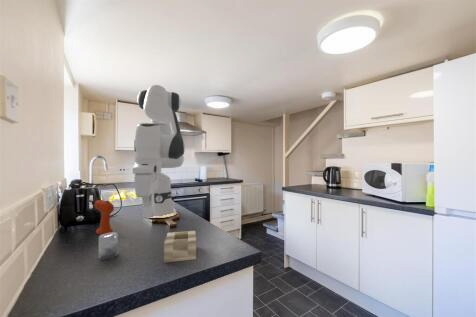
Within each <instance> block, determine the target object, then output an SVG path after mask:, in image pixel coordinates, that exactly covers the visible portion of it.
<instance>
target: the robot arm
mask: <svg viewBox="0 0 476 317" xmlns="http://www.w3.org/2000/svg"><path fill="white" fill-rule="evenodd" d="M136 100H137V104H138V107H139V108H140V109H141V110H143V112H144V114H145V115H146V117H148V118H149V119H150V123H149V122H148V123H146V122H145V123H144V122H141V123H138V124H137V125H136V129H135V135H134V141H133V142H134V145H133V150H134V152H135V156H134V166H132V174H133V175H134V178H133V179H134V190H135V196H136V198H142V197H143V202H144V207H149V205H150V199H149V197H150V194H151V193H152V192H153V191H154V215H153V216H163V215H167V214H171V213H174V212H175V213H176V214H177V215H178V212H177V211H176V208H175V206H174V205H175V203H174V202H175V201H174V200H173V199H172V196H173V195H172V194H173V193H172V191H171V189H172V188H171V187H172V186H171V185H172V183H171V182H172V180H171V177H170V176H168V174H165V173H163V172H162V169H175V168H179V167H181V166H182V165H183V163H184V160H185V158H184V154H185V151H186V144H185V141H184V138H183V136H182V132H181V128H180V122H179V119H178V117H177V116H178V115H177V113H176V112H178V111H179V110H180V108H181V106H182V101H181V98H180V95H179V94H178V93H177V92H173V91H167V90H166V88H165V87H163V86H161V85H159V84H154V85H151V86H150V87H148V89H141V90H140V91H139V92H138V95H137V99H136Z"/></svg>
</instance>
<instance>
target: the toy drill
mask: <svg viewBox="0 0 476 317" xmlns="http://www.w3.org/2000/svg"><path fill="white" fill-rule="evenodd" d="M86 201H87V202H89V203H91V205H92V206H93V207H94V208H96V210H98V212H100V213H101V215H100V225H99V226H100V227H99V228H97V229H96V230H95V233H96V235H102V234H106V233H113V232H114V230H113V228H112V226H111V222H110V220H111V214H113V212H114V209H115V206H114V204H113V203H112V202H110V201H109V200H108V199H107V200H104V199H100V200H99V199H97V200H96V199H94V200H91V199H87V200H86Z"/></svg>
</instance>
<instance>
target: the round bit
mask: <svg viewBox="0 0 476 317" xmlns="http://www.w3.org/2000/svg"><path fill="white" fill-rule="evenodd" d="M118 255H119V233H118V232H114V231H113V233H106V234H102V235H101V234H99V236H98V259H99V260H100V261H107V260H110V259H111V260H112V259H113V258H115V257H117V256H118Z"/></svg>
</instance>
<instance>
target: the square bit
mask: <svg viewBox="0 0 476 317" xmlns="http://www.w3.org/2000/svg"><path fill="white" fill-rule="evenodd" d="M149 199H150V205H149V207H144V202H143V197H141V217H142V218H143V219H145V218H146V219H149V218H148V217H153V215H154V191H153V192H152V193H151V194H150V197H149Z"/></svg>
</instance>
